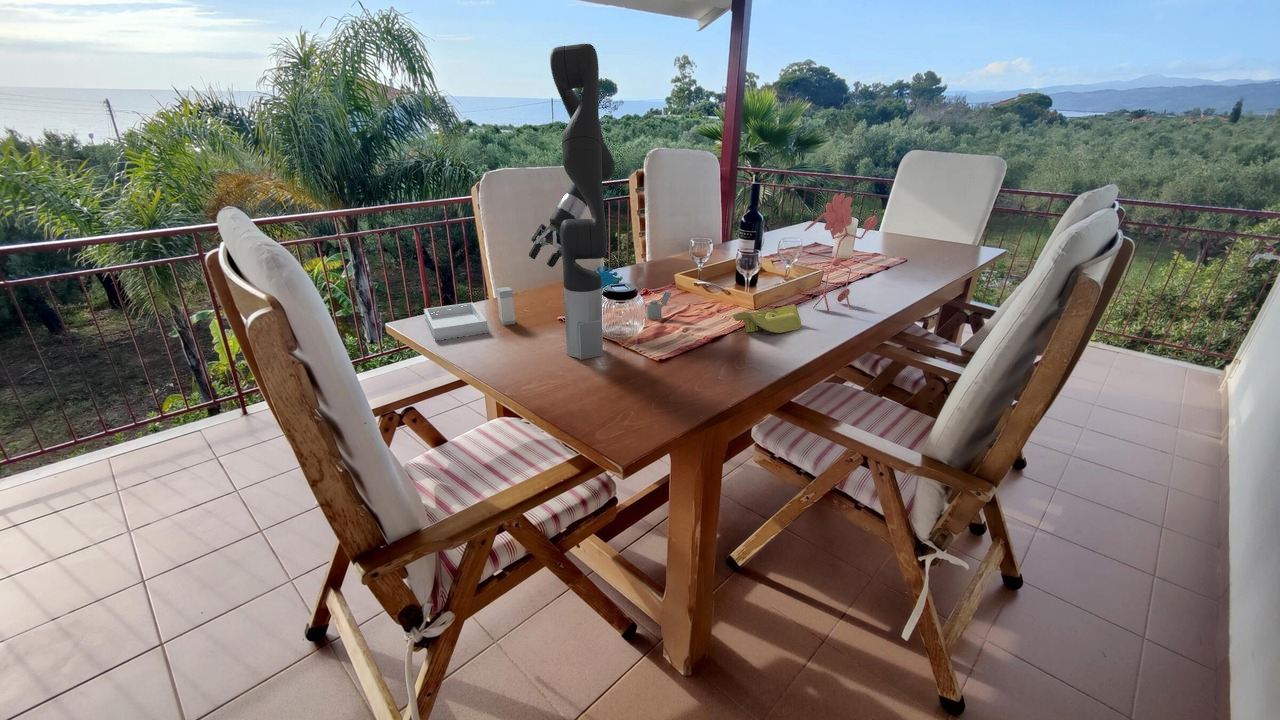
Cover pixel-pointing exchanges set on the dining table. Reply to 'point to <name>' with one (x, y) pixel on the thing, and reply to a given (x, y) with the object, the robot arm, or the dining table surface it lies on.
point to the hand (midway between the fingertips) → (540, 261)
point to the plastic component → (771, 319)
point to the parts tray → (455, 321)
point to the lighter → (657, 306)
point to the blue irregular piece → (608, 276)
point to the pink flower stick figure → (836, 222)
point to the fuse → (506, 305)
